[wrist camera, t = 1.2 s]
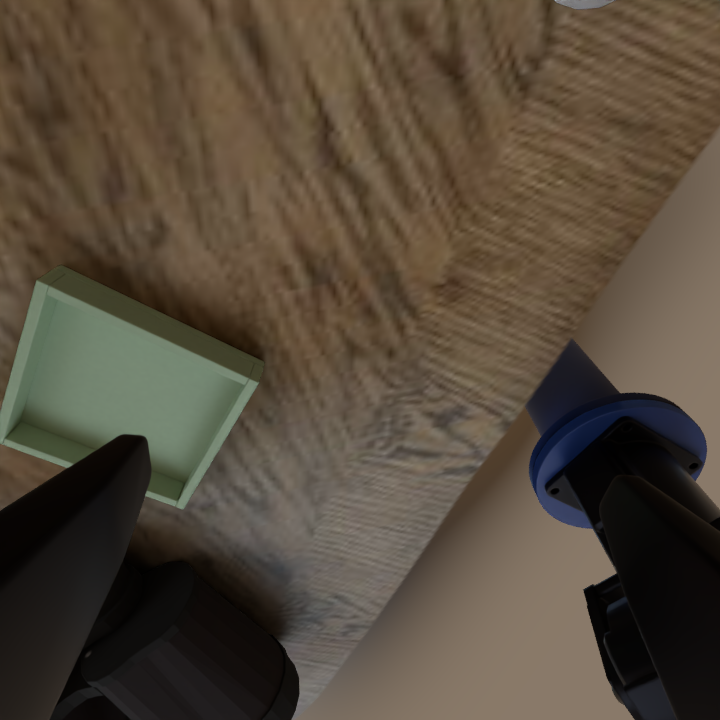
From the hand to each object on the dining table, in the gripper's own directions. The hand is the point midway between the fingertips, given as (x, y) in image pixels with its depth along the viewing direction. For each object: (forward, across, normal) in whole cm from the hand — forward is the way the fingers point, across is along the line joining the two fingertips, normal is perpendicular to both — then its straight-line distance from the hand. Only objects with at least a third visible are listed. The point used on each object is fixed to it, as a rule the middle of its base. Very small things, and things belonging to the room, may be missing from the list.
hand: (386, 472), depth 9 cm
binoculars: (+14, +14, +29) cm, 35 cm away
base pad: (+14, +11, +9) cm, 20 cm away
